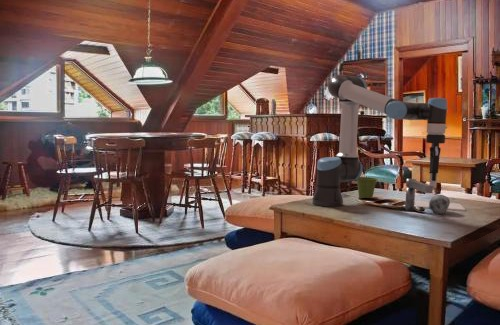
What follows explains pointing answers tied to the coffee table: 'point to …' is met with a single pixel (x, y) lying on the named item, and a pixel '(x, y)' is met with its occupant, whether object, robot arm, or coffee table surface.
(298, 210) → the coffee table surface
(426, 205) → the board
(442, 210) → the grey streaked egg shape
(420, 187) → the bar
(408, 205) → the latch post
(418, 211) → the coffee table surface
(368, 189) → the plant pot
